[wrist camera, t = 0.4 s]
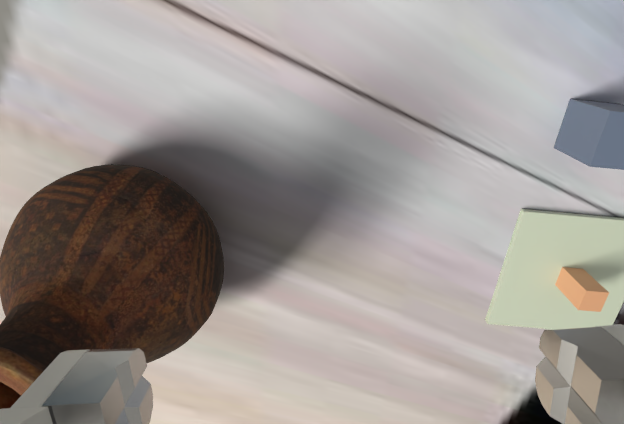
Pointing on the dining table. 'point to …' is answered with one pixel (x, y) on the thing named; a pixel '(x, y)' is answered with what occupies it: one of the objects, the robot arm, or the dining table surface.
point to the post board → (544, 266)
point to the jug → (104, 271)
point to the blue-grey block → (593, 133)
